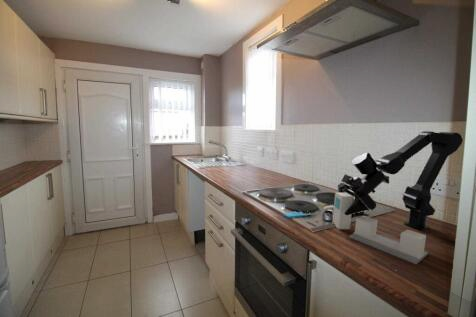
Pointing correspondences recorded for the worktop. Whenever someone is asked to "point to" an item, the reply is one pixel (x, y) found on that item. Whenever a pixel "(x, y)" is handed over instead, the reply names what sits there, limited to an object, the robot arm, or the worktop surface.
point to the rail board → (390, 240)
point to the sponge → (294, 214)
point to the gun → (331, 208)
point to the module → (342, 210)
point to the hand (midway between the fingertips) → (339, 210)
